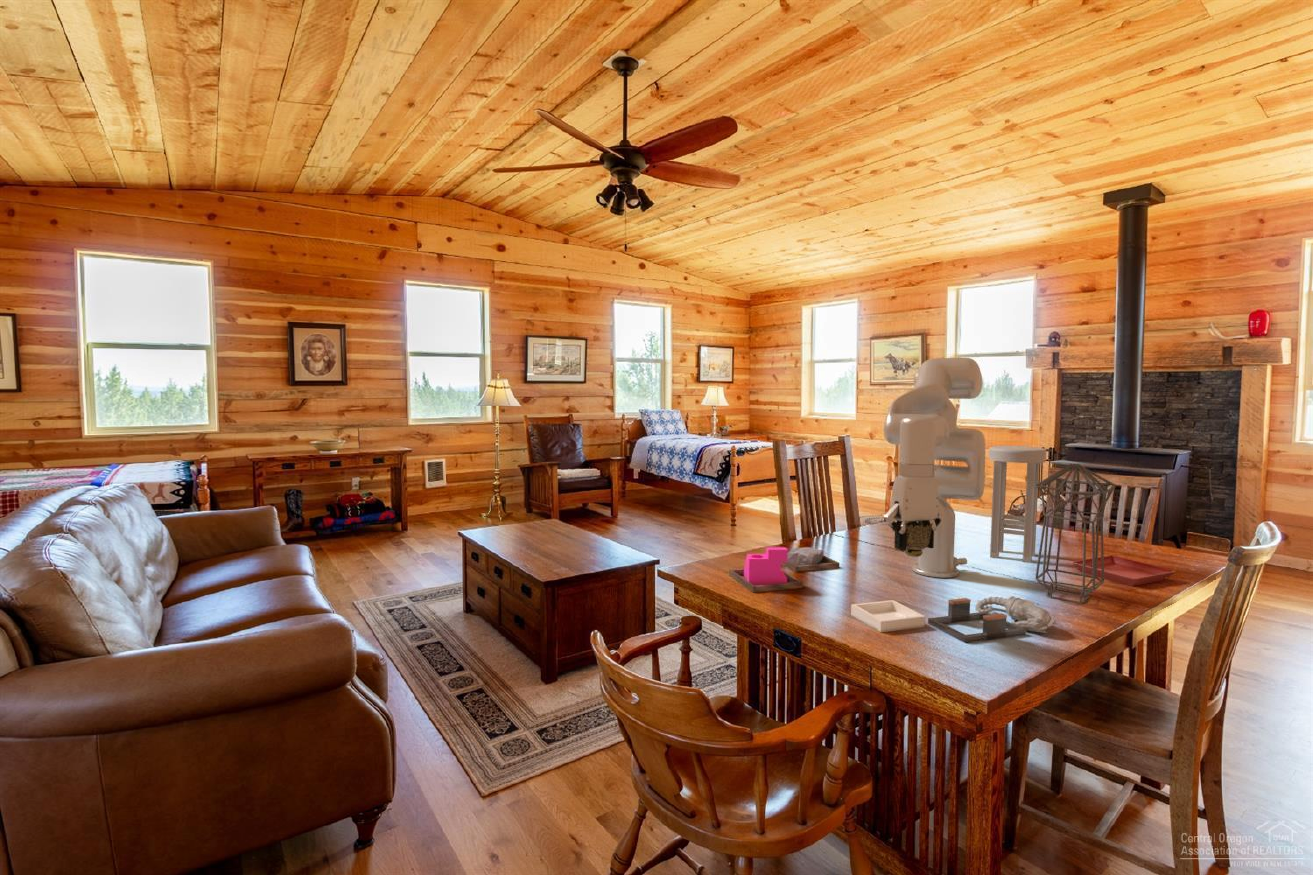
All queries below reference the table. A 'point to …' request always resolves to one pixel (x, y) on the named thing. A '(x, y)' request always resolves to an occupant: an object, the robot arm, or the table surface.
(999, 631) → the frame
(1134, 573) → the plant saucer
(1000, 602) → the seahorse
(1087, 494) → the geometric lantern
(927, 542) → the cup
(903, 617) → the tray
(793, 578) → the brown wooden square tray
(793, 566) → the brown rectangular frame
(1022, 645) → the table surface
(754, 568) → the bracket
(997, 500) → the stool
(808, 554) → the stone block
